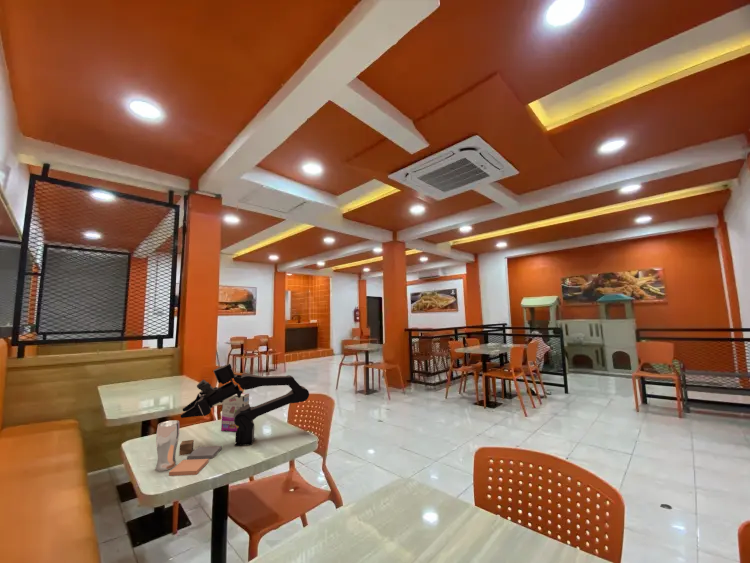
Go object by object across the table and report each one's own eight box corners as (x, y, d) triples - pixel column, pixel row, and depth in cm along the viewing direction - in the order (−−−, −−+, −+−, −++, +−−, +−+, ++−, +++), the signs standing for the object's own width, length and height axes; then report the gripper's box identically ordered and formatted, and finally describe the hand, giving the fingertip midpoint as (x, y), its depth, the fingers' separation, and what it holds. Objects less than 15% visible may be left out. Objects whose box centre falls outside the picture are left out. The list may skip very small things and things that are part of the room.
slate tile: (221, 448, 128) (221, 445, 128) (212, 458, 119) (212, 455, 119) (198, 449, 127) (198, 446, 127) (187, 459, 118) (187, 456, 118)
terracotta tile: (208, 462, 116) (208, 458, 116) (196, 474, 107) (196, 470, 107) (182, 463, 115) (183, 459, 115) (168, 475, 106) (169, 471, 106)
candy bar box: (248, 428, 150) (249, 393, 152) (242, 432, 146) (243, 395, 147) (227, 427, 152) (228, 392, 154) (220, 431, 147) (222, 394, 149)
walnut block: (193, 450, 127) (193, 439, 127) (191, 454, 123) (191, 443, 124) (181, 451, 126) (182, 441, 126) (179, 455, 122) (179, 444, 122)
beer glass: (149, 470, 110) (152, 425, 112) (168, 461, 117) (170, 419, 118) (163, 473, 108) (166, 427, 110) (182, 464, 114) (184, 421, 116)
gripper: (215, 372, 140) (176, 390, 132) (215, 379, 123) (170, 400, 116) (225, 394, 141) (186, 413, 133) (226, 405, 124) (183, 427, 117)
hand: (181, 413), depth 125 cm, fingers open, 9 cm apart
